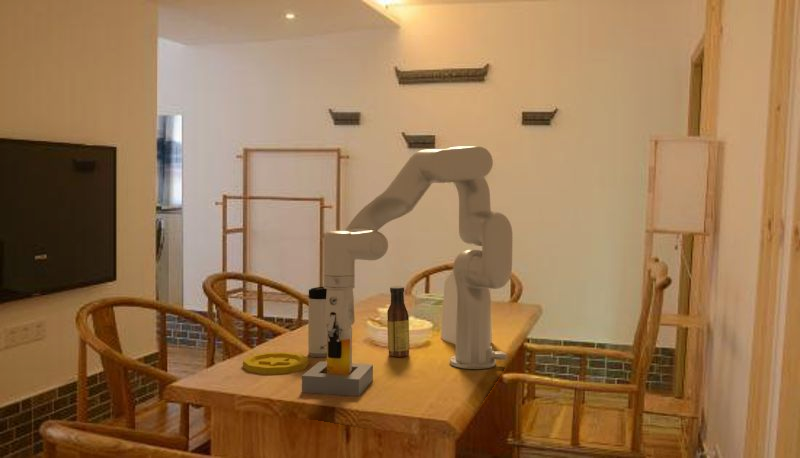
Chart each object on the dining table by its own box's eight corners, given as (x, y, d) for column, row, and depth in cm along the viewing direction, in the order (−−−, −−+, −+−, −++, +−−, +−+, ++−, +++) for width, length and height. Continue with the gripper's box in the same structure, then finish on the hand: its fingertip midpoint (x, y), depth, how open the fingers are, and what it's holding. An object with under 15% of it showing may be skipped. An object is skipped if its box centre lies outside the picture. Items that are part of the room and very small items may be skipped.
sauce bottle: (412, 354, 212) (413, 286, 211) (403, 358, 207) (404, 289, 205) (392, 351, 215) (393, 284, 214) (383, 356, 210) (383, 287, 208)
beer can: (326, 381, 182) (327, 321, 181) (351, 381, 183) (352, 321, 182) (326, 387, 176) (327, 326, 175) (351, 387, 177) (352, 326, 176)
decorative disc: (310, 373, 192) (310, 366, 192) (242, 376, 188) (242, 368, 188) (306, 358, 208) (306, 351, 208) (243, 360, 205) (243, 353, 205)
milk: (472, 335, 239) (474, 256, 237) (491, 342, 229) (493, 260, 227) (440, 338, 234) (441, 257, 232) (458, 346, 223) (460, 261, 222)
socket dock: (372, 380, 185) (373, 364, 184) (358, 396, 171) (359, 379, 171) (319, 376, 188) (319, 361, 187) (301, 392, 174) (301, 375, 174)
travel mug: (327, 358, 207) (327, 288, 205) (305, 356, 208) (305, 287, 207) (334, 353, 213) (334, 285, 211) (312, 351, 214) (312, 284, 213)
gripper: (344, 287, 168) (344, 364, 170) (362, 277, 185) (362, 347, 187) (313, 286, 170) (313, 362, 171) (334, 276, 187) (334, 345, 188)
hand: (339, 353), depth 179 cm, fingers open, 6 cm apart
